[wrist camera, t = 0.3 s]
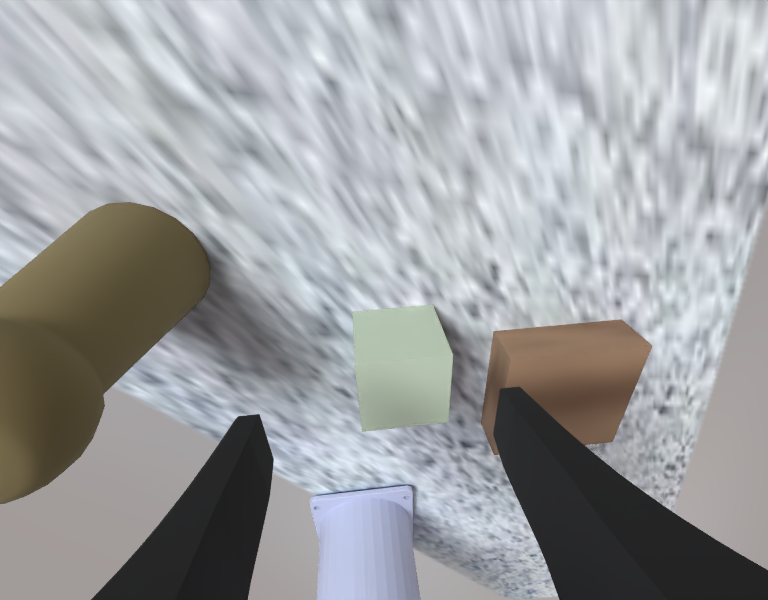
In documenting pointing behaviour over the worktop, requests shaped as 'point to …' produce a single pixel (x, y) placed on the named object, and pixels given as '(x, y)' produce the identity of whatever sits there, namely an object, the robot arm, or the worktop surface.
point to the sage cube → (401, 367)
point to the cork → (85, 331)
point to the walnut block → (569, 374)
